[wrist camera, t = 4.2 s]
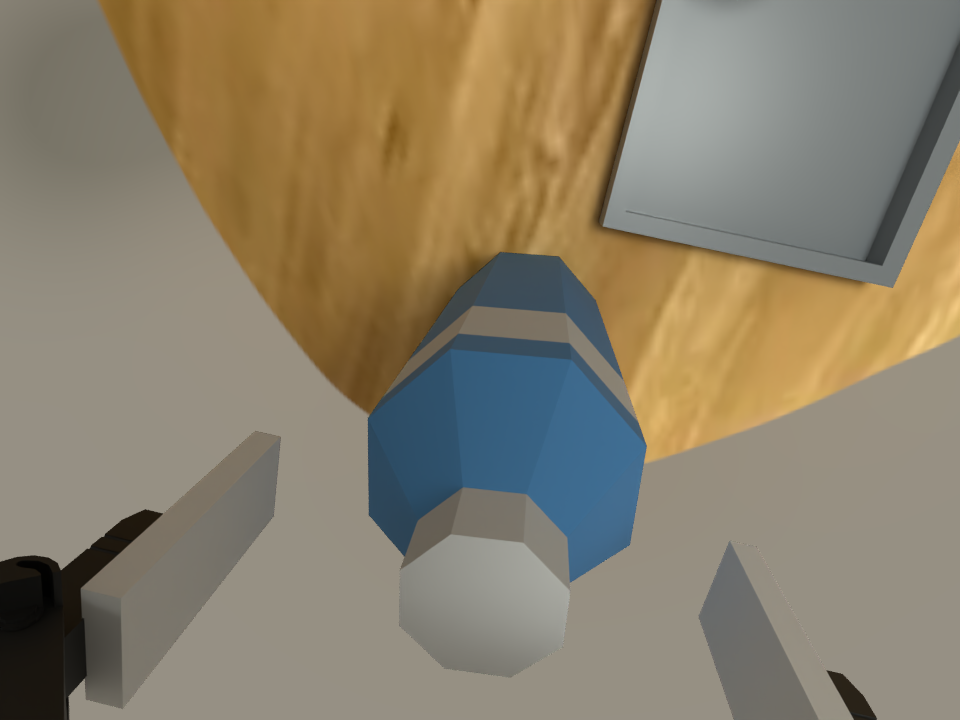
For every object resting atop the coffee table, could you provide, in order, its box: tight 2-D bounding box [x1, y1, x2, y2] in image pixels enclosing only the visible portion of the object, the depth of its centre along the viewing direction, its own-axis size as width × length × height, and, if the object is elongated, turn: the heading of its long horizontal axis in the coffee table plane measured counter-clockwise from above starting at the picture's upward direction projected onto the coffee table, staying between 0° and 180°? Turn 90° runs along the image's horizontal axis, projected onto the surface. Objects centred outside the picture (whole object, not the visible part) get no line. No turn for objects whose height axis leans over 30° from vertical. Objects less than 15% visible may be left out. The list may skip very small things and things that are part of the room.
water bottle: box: [368, 252, 647, 677], centre depth 25 cm, size 9×9×25 cm
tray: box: [599, 0, 960, 288], centre depth 29 cm, size 16×20×2 cm
